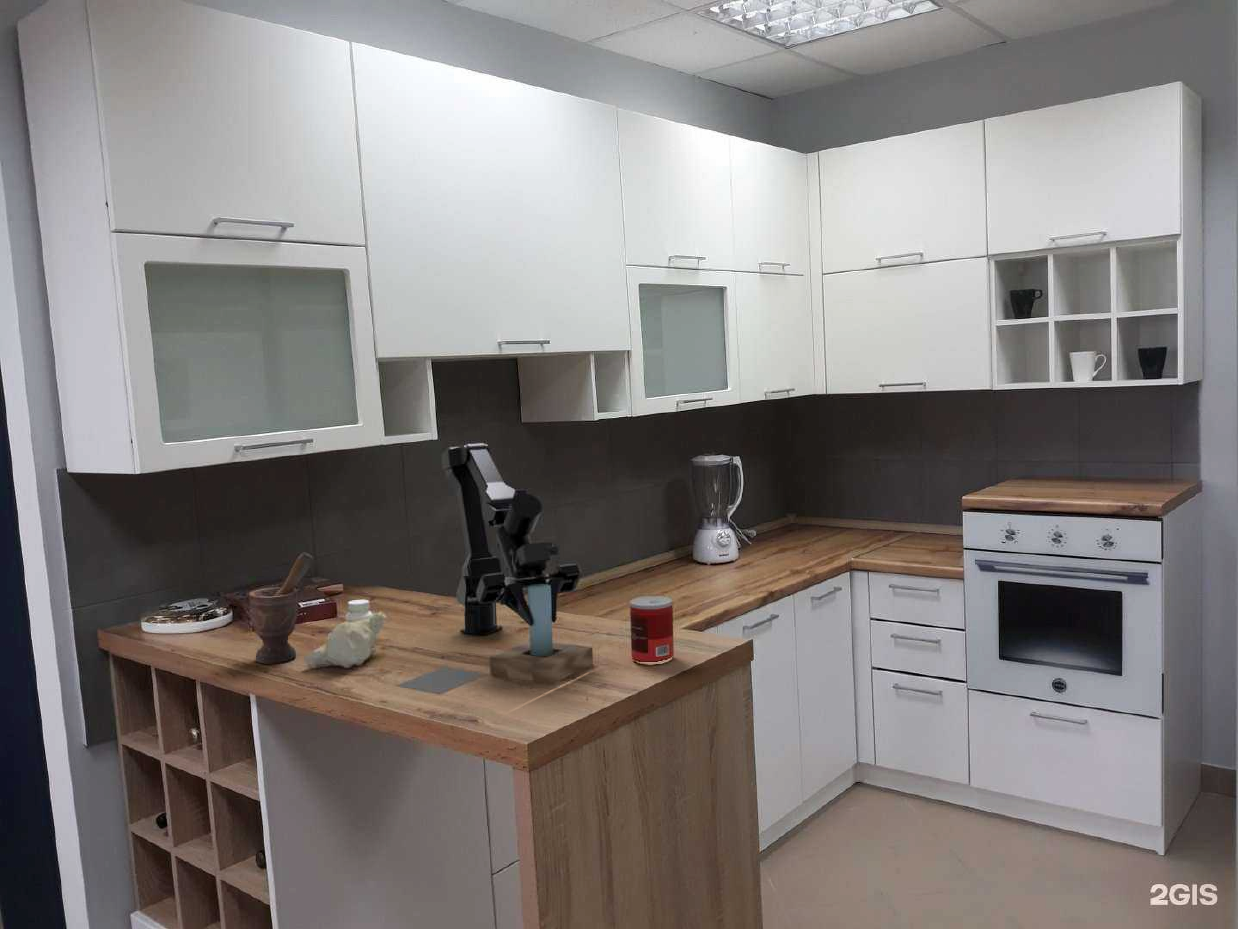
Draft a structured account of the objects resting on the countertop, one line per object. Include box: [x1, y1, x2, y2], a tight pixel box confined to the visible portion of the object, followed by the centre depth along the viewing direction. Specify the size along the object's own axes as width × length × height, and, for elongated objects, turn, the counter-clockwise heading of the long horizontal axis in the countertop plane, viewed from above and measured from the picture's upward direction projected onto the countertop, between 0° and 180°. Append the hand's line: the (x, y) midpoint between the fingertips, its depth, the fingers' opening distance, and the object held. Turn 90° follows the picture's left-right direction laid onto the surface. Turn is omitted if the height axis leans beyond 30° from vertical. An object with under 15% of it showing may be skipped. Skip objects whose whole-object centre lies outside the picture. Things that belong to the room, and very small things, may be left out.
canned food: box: [629, 595, 675, 662], centre depth 182 cm, size 8×8×11 cm
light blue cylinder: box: [527, 584, 554, 658], centre depth 177 cm, size 4×4×13 cm
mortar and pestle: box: [248, 552, 314, 665], centre depth 190 cm, size 12×9×20 cm
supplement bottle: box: [344, 599, 376, 653], centre depth 194 cm, size 5×5×10 cm
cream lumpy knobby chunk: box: [304, 611, 388, 669], centre depth 185 cm, size 15×7×15 cm
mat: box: [395, 666, 487, 695], centre depth 173 cm, size 12×10×1 cm
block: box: [489, 640, 594, 686], centre depth 177 cm, size 13×13×4 cm
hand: (543, 622), depth 175 cm, fingers closed on light blue cylinder, 4 cm apart
